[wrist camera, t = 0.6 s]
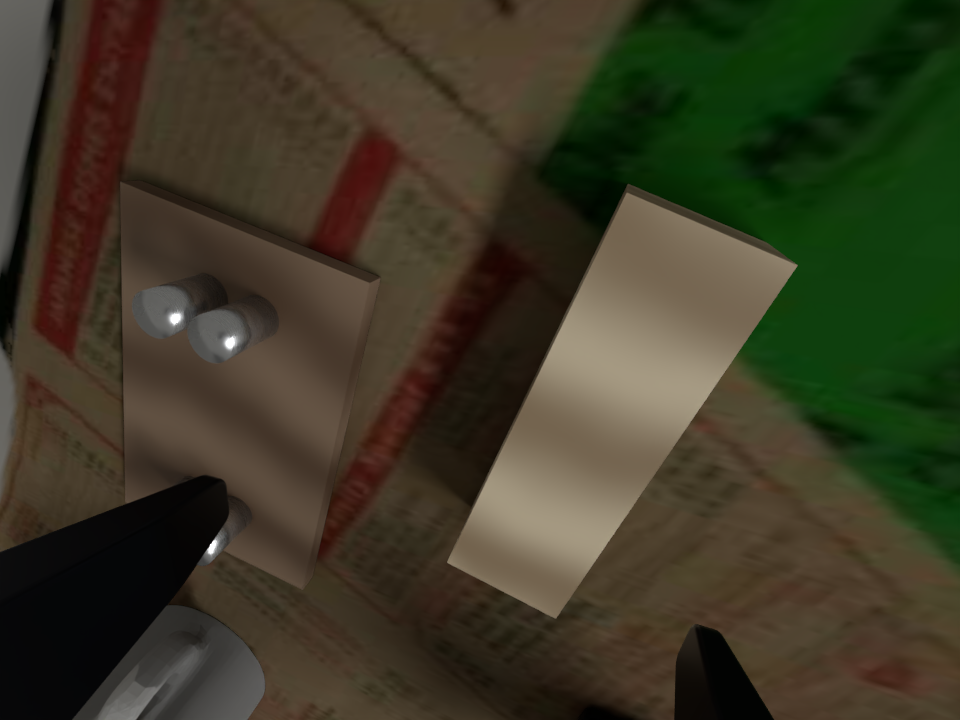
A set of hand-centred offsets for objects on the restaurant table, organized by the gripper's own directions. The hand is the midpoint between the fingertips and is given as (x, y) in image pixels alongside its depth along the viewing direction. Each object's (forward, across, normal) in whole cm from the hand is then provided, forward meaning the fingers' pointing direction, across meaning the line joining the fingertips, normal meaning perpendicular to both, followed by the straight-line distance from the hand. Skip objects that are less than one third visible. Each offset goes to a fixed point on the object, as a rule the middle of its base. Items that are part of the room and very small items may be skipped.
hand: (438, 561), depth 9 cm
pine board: (+13, -3, +3) cm, 13 cm away
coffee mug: (+12, +18, +29) cm, 36 cm away
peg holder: (+12, +14, +8) cm, 21 cm away
